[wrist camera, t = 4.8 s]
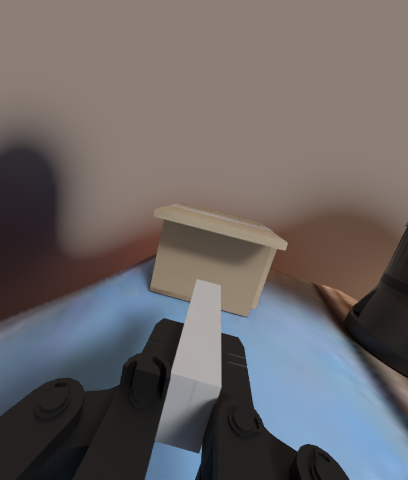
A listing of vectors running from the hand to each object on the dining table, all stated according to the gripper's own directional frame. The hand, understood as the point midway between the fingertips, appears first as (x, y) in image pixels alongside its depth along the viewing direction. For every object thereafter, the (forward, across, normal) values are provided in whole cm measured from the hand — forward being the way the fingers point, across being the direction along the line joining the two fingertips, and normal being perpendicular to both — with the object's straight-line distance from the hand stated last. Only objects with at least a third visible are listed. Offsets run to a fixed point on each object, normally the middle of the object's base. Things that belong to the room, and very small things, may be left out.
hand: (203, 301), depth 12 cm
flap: (+16, 0, +3) cm, 16 cm away
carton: (+19, 0, -8) cm, 20 cm away
